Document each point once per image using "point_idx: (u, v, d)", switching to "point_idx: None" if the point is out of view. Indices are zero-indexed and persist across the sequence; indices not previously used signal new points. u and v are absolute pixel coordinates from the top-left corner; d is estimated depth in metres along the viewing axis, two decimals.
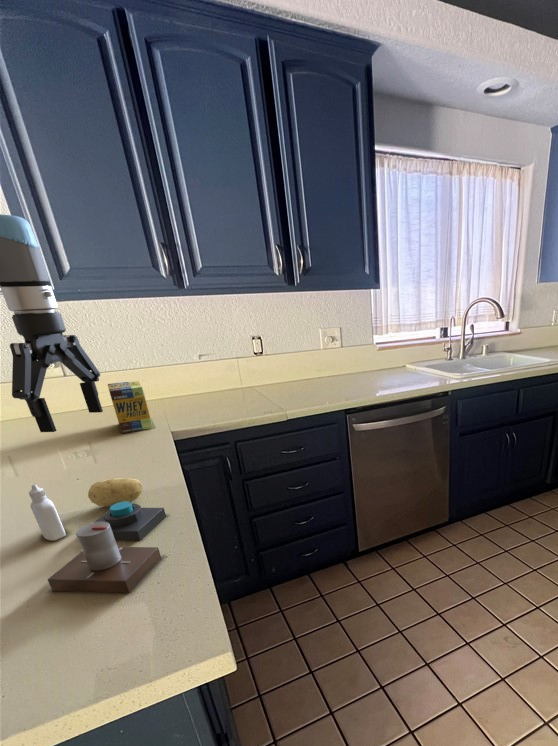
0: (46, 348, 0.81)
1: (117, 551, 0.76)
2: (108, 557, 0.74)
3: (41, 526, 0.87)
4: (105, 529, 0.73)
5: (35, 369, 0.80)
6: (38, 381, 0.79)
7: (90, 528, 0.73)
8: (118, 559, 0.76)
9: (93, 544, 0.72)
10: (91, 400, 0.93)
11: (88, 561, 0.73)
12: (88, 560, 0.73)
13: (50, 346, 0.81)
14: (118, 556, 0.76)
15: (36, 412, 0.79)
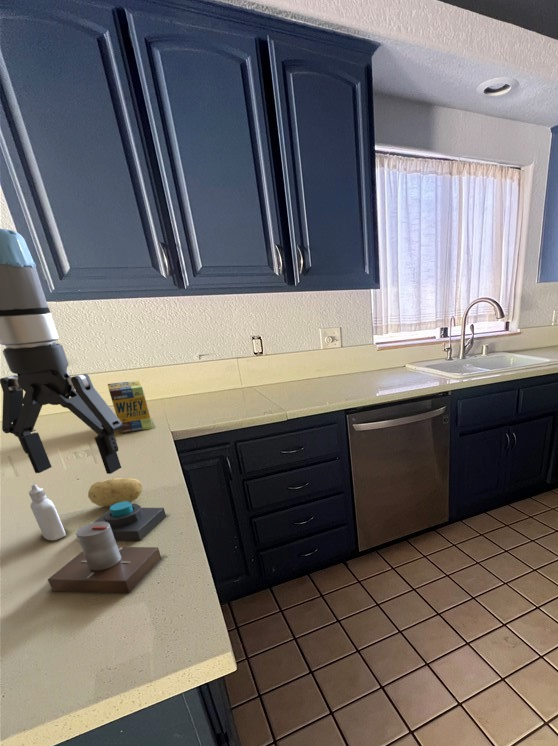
0: None
1: (117, 551, 0.76)
2: (108, 557, 0.74)
3: (41, 526, 0.87)
4: (105, 529, 0.73)
5: (82, 405, 0.70)
6: None
7: (90, 528, 0.73)
8: (118, 559, 0.76)
9: (93, 544, 0.72)
10: (40, 455, 0.74)
11: (88, 561, 0.73)
12: (88, 560, 0.73)
13: None
14: (118, 556, 0.76)
15: (116, 446, 0.72)
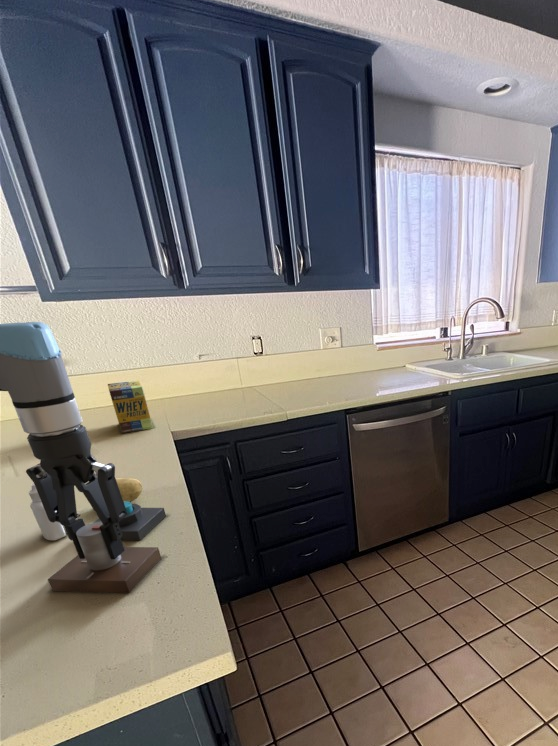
0: None
1: None
2: (108, 557, 0.74)
3: (41, 526, 0.87)
4: None
5: (98, 491, 0.70)
6: None
7: (90, 528, 0.73)
8: (118, 559, 0.76)
9: (93, 544, 0.72)
10: None
11: (88, 561, 0.73)
12: (88, 560, 0.73)
13: None
14: (118, 556, 0.76)
15: (120, 532, 0.74)
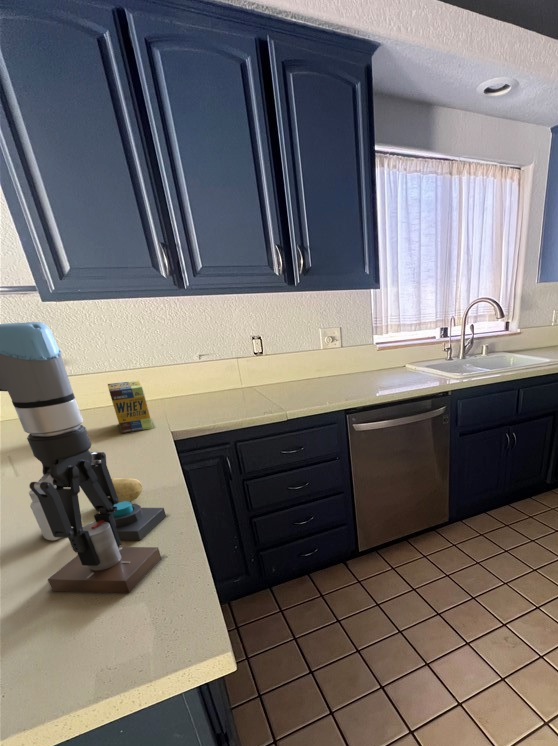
0: None
1: None
2: None
3: (41, 526, 0.87)
4: (103, 521, 0.76)
5: None
6: None
7: (90, 530, 0.73)
8: None
9: (112, 534, 0.75)
10: None
11: (111, 557, 0.74)
12: (111, 555, 0.74)
13: None
14: None
15: None
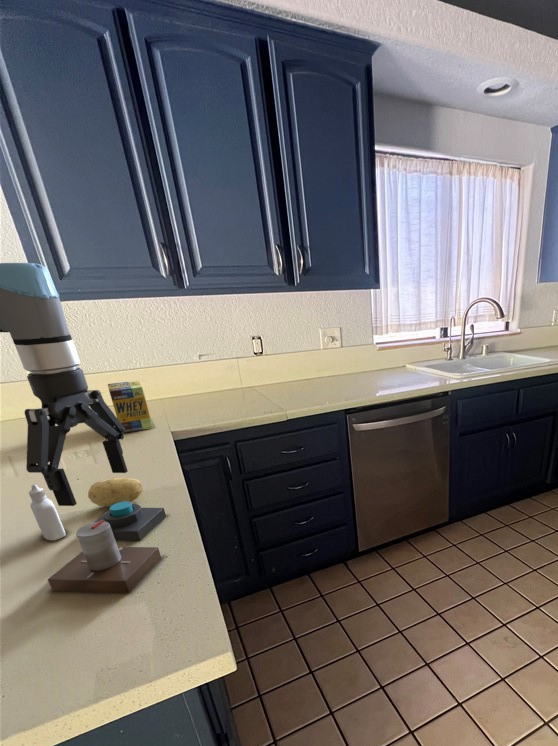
0: None
1: None
2: None
3: (41, 526, 0.87)
4: (103, 521, 0.76)
5: None
6: None
7: (90, 530, 0.73)
8: None
9: (112, 534, 0.75)
10: None
11: (111, 557, 0.74)
12: (111, 555, 0.74)
13: None
14: None
15: None
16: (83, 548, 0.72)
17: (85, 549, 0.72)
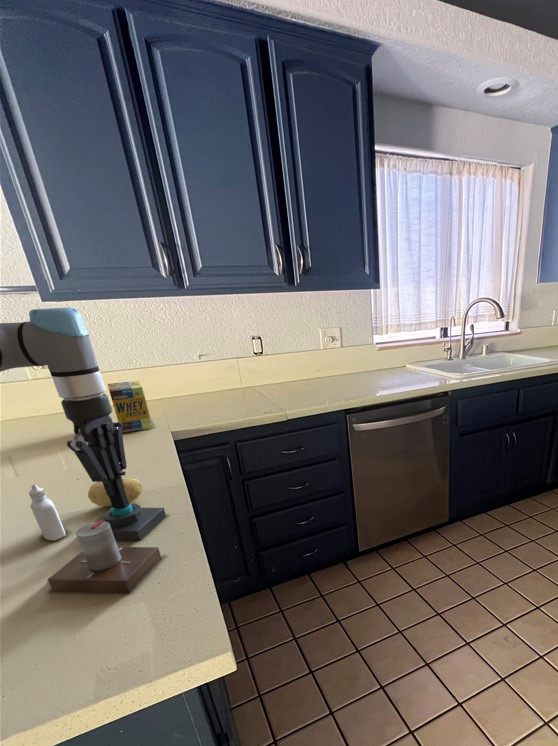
0: None
1: None
2: None
3: (41, 526, 0.87)
4: (103, 521, 0.76)
5: None
6: None
7: (90, 530, 0.73)
8: None
9: (112, 534, 0.75)
10: None
11: (111, 557, 0.74)
12: (111, 555, 0.74)
13: None
14: None
15: None
16: (83, 548, 0.72)
17: (85, 549, 0.72)
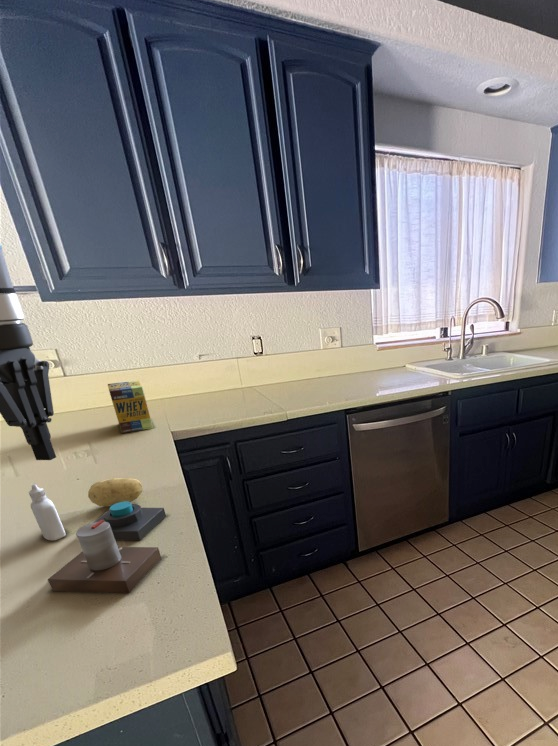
0: None
1: None
2: None
3: (41, 526, 0.87)
4: (103, 521, 0.76)
5: None
6: None
7: (90, 530, 0.73)
8: None
9: (112, 534, 0.75)
10: None
11: (111, 557, 0.74)
12: (111, 555, 0.74)
13: None
14: None
15: None
16: (83, 548, 0.72)
17: (85, 549, 0.72)
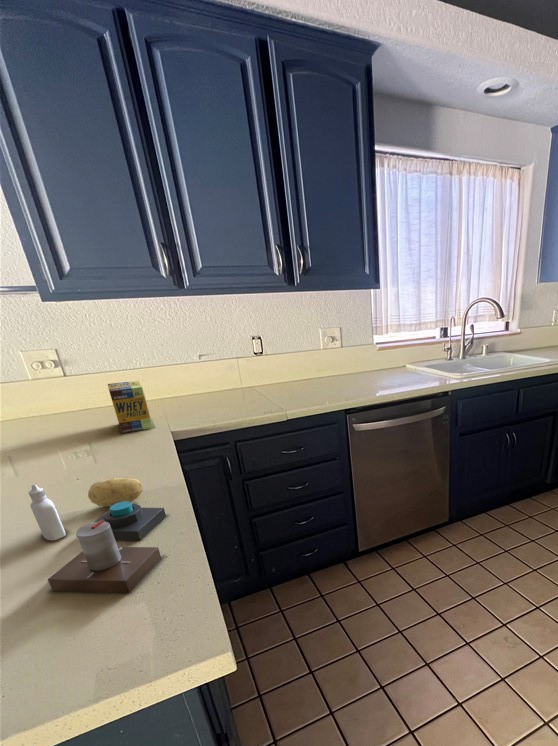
0: None
1: None
2: None
3: (41, 526, 0.87)
4: (103, 521, 0.76)
5: None
6: None
7: (90, 530, 0.73)
8: None
9: (112, 534, 0.75)
10: None
11: (111, 557, 0.74)
12: (111, 555, 0.74)
13: None
14: None
15: None
16: (83, 548, 0.72)
17: (85, 549, 0.72)
